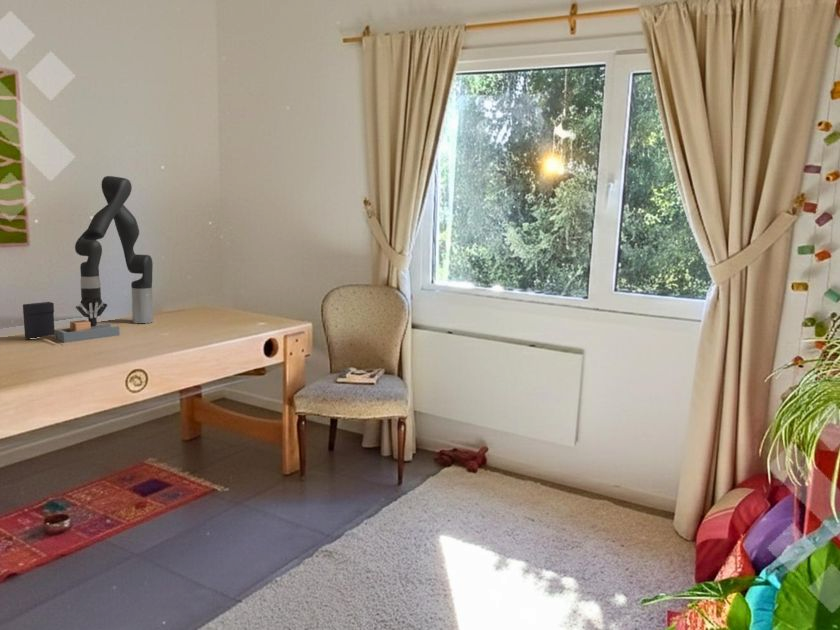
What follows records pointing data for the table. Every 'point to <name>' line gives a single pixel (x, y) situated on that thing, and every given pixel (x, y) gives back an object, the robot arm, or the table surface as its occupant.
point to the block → (80, 325)
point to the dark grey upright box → (38, 319)
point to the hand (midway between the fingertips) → (92, 326)
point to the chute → (87, 333)
